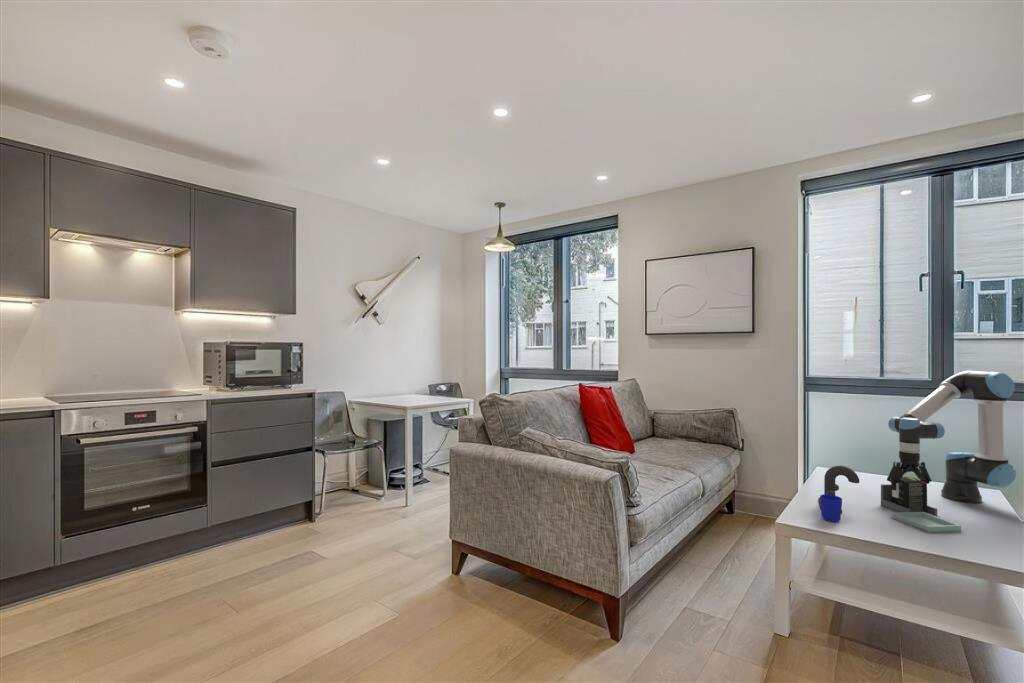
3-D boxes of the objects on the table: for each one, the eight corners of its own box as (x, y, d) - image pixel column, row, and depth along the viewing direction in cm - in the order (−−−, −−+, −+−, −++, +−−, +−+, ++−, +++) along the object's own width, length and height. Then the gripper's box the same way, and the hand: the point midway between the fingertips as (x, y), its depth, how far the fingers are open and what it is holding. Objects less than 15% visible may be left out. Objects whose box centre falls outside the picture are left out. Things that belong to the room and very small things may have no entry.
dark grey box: (928, 515, 221) (928, 483, 221) (904, 513, 222) (904, 481, 222) (913, 507, 231) (913, 476, 231) (891, 506, 233) (891, 475, 233)
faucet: (862, 516, 218) (862, 472, 219) (820, 510, 226) (820, 467, 226) (857, 505, 234) (857, 463, 234) (818, 499, 242) (818, 459, 242)
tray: (923, 517, 218) (923, 511, 218) (961, 531, 201) (961, 525, 201) (892, 517, 217) (892, 512, 217) (927, 532, 200) (927, 526, 200)
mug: (836, 515, 220) (836, 493, 220) (844, 524, 209) (844, 501, 209) (815, 512, 223) (815, 491, 223) (822, 522, 212) (822, 499, 212)
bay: (907, 504, 235) (907, 483, 235) (937, 515, 220) (937, 493, 220) (880, 505, 234) (880, 484, 234) (908, 516, 219) (908, 494, 219)
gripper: (926, 449, 232) (926, 494, 232) (877, 449, 230) (877, 494, 229) (941, 453, 224) (941, 499, 224) (891, 453, 222) (891, 499, 222)
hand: (908, 497), depth 227 cm, fingers open, 13 cm apart
